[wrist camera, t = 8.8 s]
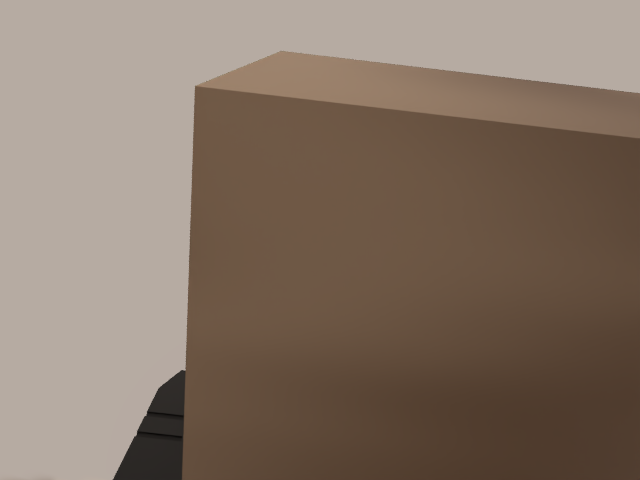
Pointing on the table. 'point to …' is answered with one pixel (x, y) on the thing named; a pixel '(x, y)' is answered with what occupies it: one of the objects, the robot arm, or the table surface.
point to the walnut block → (411, 276)
